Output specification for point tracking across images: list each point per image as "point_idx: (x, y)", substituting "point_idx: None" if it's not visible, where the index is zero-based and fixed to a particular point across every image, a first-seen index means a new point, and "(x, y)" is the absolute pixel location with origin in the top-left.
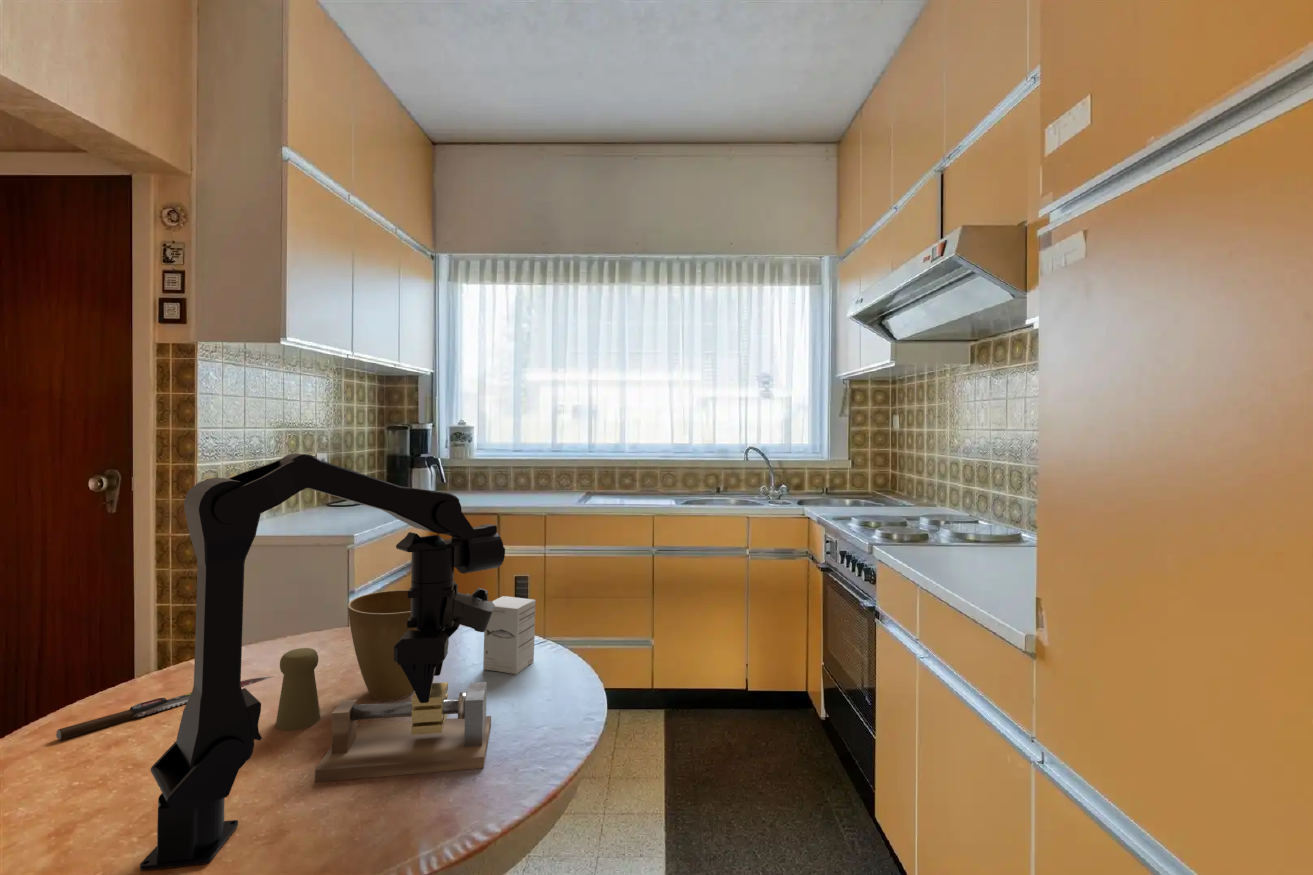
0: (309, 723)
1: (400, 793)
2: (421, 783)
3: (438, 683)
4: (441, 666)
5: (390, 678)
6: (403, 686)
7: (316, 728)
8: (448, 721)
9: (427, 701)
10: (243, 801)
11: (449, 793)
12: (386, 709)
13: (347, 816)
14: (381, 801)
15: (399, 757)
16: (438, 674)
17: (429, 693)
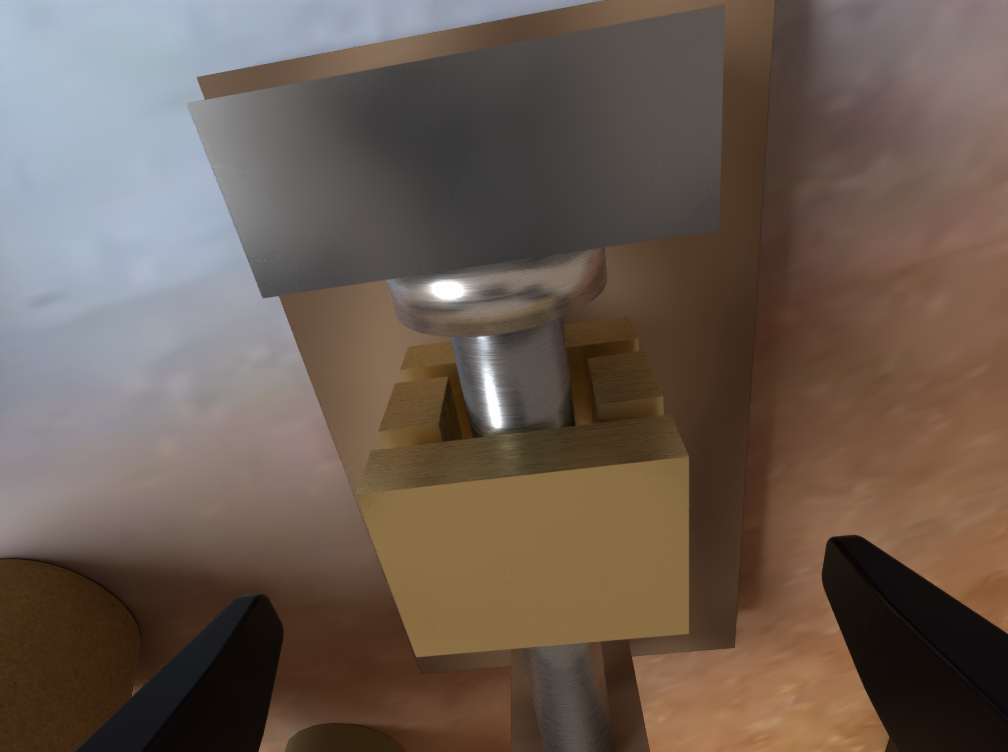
0: (370, 737)
1: (881, 344)
2: (824, 284)
3: (393, 552)
4: (223, 655)
5: (89, 704)
6: (64, 620)
7: (385, 711)
8: (328, 331)
9: (860, 542)
10: (785, 707)
11: (964, 117)
12: (597, 663)
13: (976, 464)
14: (917, 393)
15: (691, 438)
16: (266, 604)
17: (945, 595)
